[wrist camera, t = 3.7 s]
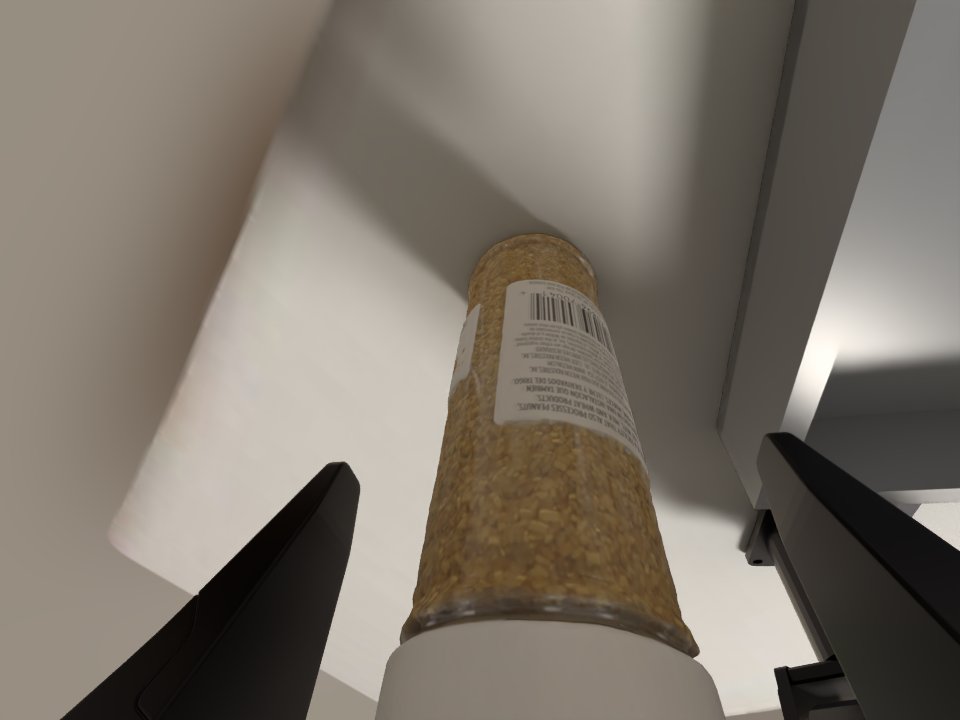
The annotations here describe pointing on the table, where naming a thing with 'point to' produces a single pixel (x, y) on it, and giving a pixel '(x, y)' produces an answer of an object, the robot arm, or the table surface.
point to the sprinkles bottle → (542, 523)
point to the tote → (857, 254)
